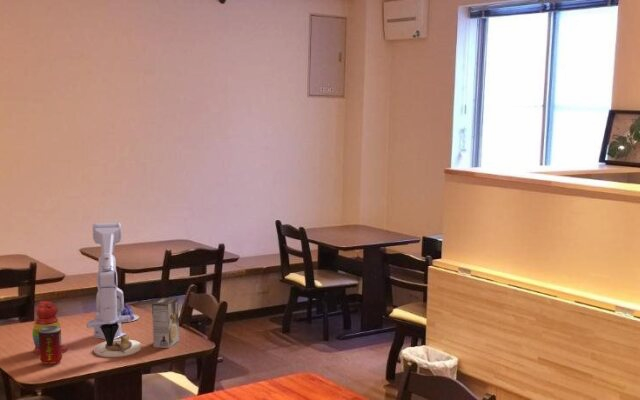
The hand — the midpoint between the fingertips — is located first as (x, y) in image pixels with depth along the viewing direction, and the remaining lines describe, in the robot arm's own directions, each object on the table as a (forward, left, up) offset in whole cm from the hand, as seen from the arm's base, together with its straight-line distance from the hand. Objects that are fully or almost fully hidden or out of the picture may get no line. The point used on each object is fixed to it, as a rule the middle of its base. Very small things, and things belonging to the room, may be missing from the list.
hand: (109, 345), depth 260 cm
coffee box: (+9, +21, -5) cm, 23 cm away
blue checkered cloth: (-25, +42, -5) cm, 49 cm away
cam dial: (-1, +7, -3) cm, 8 cm away
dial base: (-4, +9, -5) cm, 11 cm away
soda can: (-16, -11, -5) cm, 20 cm away
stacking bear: (-26, -1, -5) cm, 26 cm away
